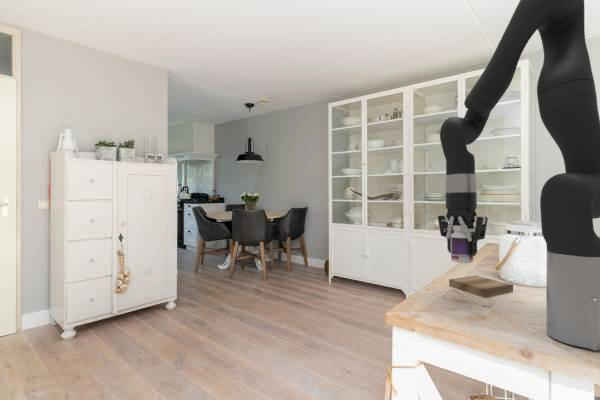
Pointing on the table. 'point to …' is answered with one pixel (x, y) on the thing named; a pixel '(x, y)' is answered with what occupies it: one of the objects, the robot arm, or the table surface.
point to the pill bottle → (459, 246)
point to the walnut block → (481, 286)
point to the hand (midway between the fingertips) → (461, 253)
